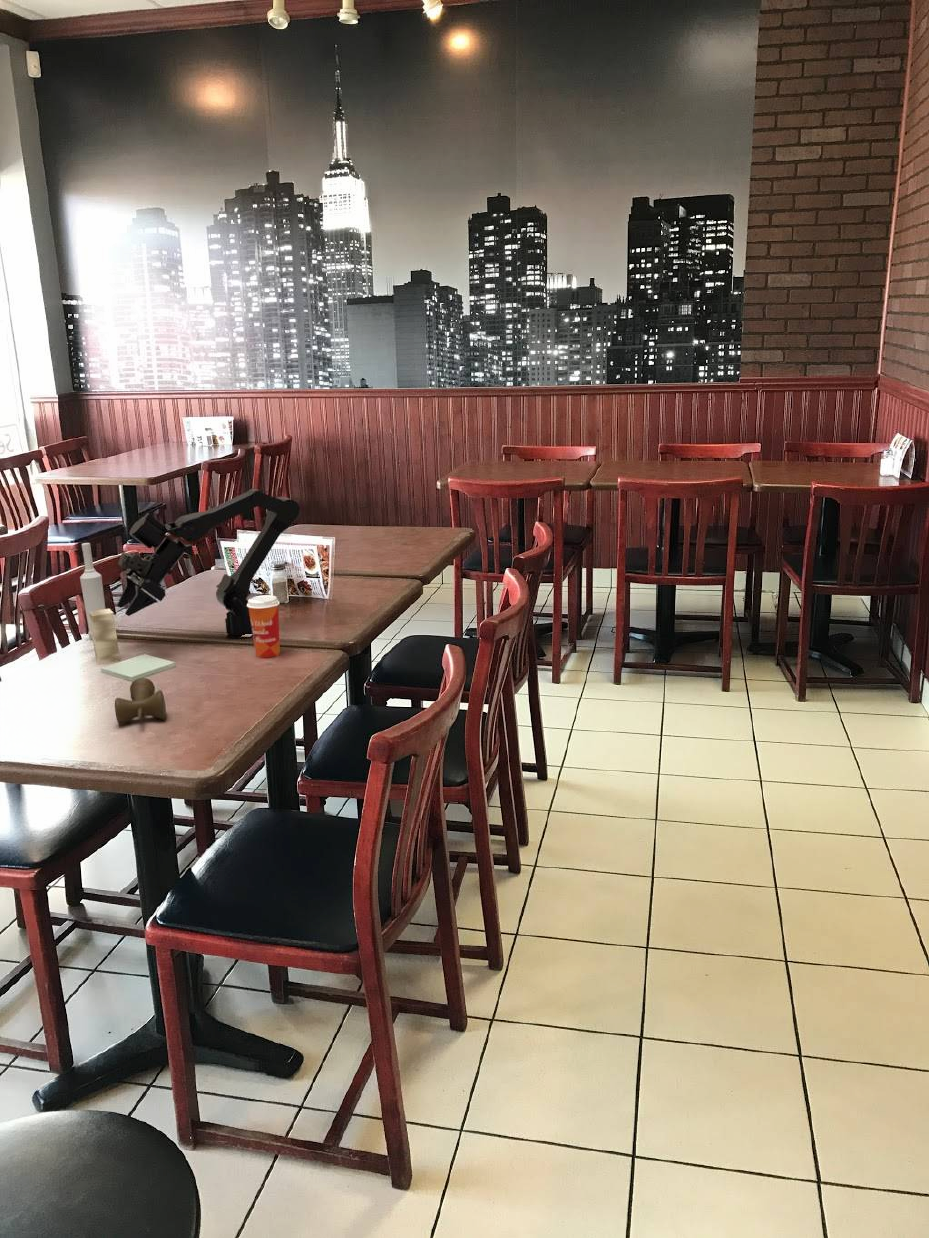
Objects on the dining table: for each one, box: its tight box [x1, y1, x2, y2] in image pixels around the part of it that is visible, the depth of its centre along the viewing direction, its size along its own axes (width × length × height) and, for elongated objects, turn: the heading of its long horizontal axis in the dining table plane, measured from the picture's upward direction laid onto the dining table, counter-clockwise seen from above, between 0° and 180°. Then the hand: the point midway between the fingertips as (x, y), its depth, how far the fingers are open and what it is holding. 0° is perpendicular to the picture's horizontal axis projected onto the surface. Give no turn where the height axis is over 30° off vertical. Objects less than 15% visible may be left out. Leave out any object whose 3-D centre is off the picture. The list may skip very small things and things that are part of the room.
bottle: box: [79, 542, 106, 641], centre depth 258 cm, size 5×5×25 cm
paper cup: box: [247, 594, 281, 659], centre depth 240 cm, size 8×8×14 cm
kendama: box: [114, 677, 167, 726], centre depth 206 cm, size 6×10×20 cm
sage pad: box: [100, 653, 176, 682], centre depth 234 cm, size 12×12×1 cm
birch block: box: [89, 608, 121, 665], centre depth 241 cm, size 5×5×12 cm
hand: (122, 610), depth 242 cm, fingers open, 9 cm apart
